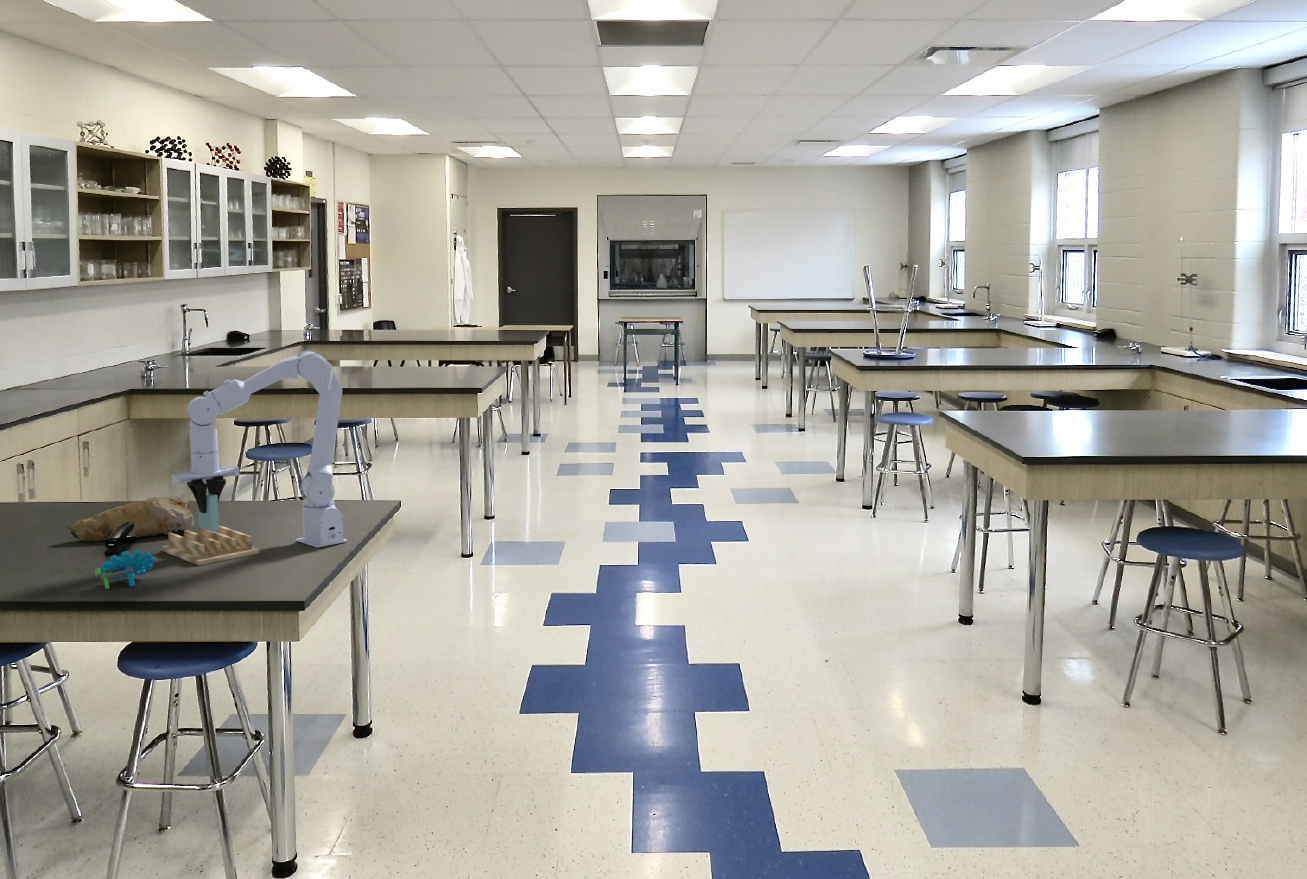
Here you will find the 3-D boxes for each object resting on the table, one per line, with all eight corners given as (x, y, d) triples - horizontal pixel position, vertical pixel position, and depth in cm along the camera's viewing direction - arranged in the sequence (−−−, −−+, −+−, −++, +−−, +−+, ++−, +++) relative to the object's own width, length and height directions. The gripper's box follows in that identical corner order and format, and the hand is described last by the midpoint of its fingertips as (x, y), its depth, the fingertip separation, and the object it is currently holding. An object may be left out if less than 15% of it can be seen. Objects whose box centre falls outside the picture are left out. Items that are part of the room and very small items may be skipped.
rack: (259, 553, 250) (258, 535, 250) (198, 565, 240) (197, 547, 240) (221, 539, 263) (220, 522, 262) (162, 550, 252) (160, 533, 252)
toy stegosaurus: (156, 566, 233) (150, 542, 225) (161, 591, 230) (156, 567, 223) (98, 580, 228) (90, 556, 221) (103, 605, 226) (95, 581, 218)
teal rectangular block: (219, 530, 249) (217, 495, 248) (211, 531, 248) (209, 496, 247) (207, 526, 253) (204, 491, 252) (199, 527, 252) (197, 492, 251)
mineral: (65, 511, 253) (65, 510, 262) (72, 551, 254) (71, 548, 263) (190, 492, 266) (186, 491, 275) (196, 530, 266) (192, 528, 275)
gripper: (227, 445, 256) (230, 503, 258) (164, 453, 245) (168, 513, 247) (242, 449, 251) (245, 508, 253) (178, 457, 241) (182, 518, 243)
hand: (208, 511), depth 250 cm, fingers closed on teal rectangular block, 2 cm apart
